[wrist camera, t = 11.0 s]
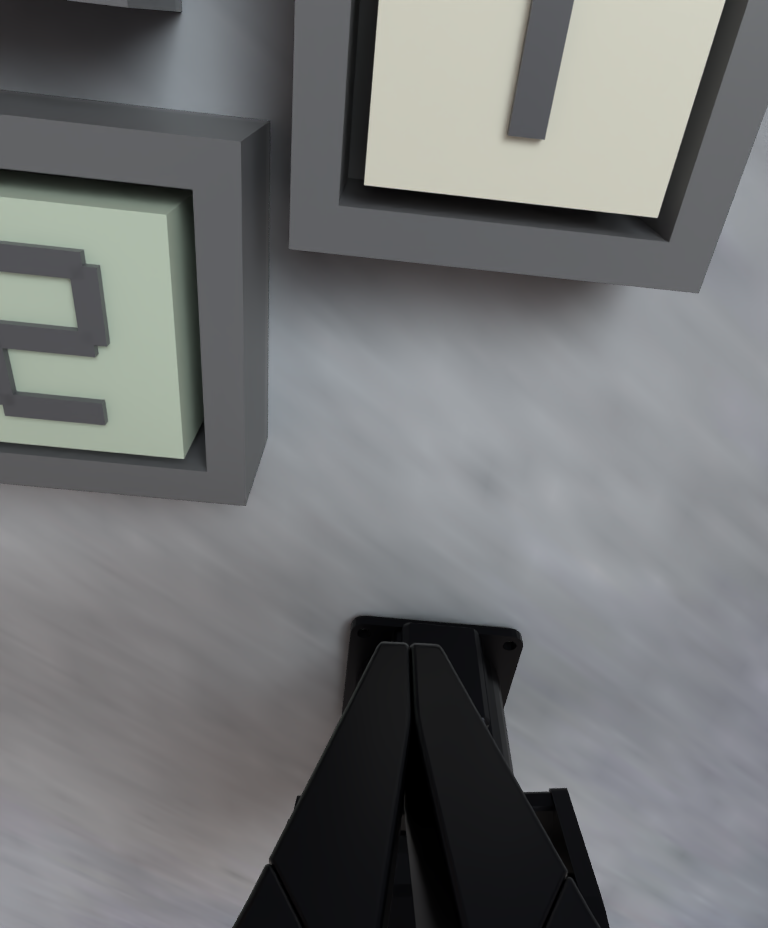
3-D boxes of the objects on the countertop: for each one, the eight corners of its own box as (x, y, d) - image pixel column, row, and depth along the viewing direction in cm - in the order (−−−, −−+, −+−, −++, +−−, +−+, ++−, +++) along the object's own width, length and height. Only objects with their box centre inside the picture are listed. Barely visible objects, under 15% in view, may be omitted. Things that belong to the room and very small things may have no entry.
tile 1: (624, 193, 16) (660, 220, 13) (368, 164, 15) (363, 187, 13) (720, -148, 12) (788, -186, 10) (397, -191, 12) (397, -239, 10)
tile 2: (206, 413, 19) (181, 463, 17) (-8, 392, 19) (-62, 440, 17) (196, 191, 16) (163, 217, 14) (-64, 162, 16) (-140, 184, 13)
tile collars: (579, 468, 22) (608, 539, 19) (-89, 403, 21) (-172, 467, 18) (903, -574, 11) (1103, -812, 8) (-472, -797, 10) (-857, -1161, 7)
